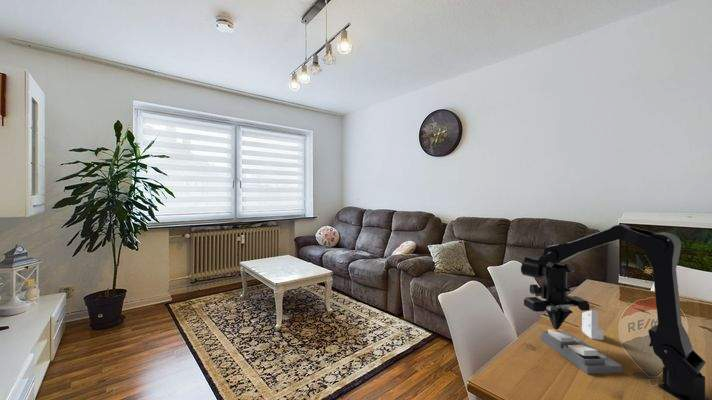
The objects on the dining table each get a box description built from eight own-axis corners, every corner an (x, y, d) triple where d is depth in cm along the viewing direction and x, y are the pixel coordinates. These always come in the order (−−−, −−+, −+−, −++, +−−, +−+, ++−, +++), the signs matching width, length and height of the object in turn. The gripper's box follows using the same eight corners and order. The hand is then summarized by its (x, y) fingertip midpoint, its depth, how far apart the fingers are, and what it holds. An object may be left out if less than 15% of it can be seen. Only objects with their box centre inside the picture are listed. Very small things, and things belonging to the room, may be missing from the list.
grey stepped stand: (621, 372, 81) (622, 361, 81) (587, 373, 81) (587, 362, 81) (569, 338, 100) (569, 329, 100) (540, 339, 100) (540, 330, 100)
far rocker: (573, 341, 92) (573, 337, 92) (561, 342, 92) (561, 337, 92) (559, 333, 98) (559, 328, 98) (547, 333, 98) (547, 329, 98)
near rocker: (598, 355, 83) (597, 349, 83) (584, 356, 83) (583, 350, 83) (581, 349, 89) (580, 344, 89) (568, 350, 88) (567, 344, 89)
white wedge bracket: (599, 337, 96) (591, 309, 100) (584, 339, 104) (577, 314, 108) (612, 338, 95) (603, 310, 99) (595, 340, 103) (588, 314, 108)
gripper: (565, 275, 105) (564, 317, 105) (514, 276, 104) (514, 319, 104) (591, 285, 94) (590, 332, 94) (535, 286, 93) (534, 334, 93)
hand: (555, 329), depth 97 cm, fingers closed
